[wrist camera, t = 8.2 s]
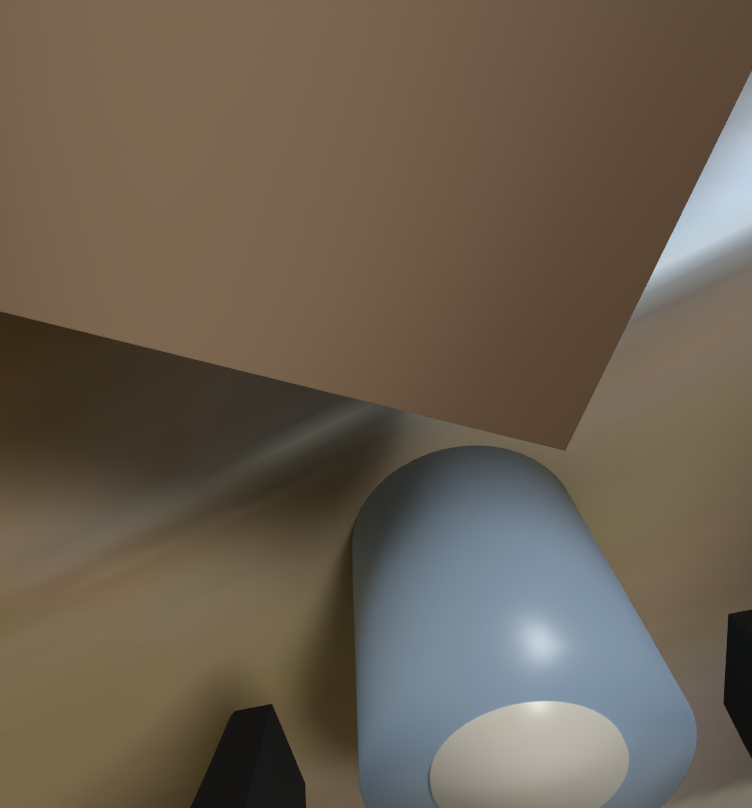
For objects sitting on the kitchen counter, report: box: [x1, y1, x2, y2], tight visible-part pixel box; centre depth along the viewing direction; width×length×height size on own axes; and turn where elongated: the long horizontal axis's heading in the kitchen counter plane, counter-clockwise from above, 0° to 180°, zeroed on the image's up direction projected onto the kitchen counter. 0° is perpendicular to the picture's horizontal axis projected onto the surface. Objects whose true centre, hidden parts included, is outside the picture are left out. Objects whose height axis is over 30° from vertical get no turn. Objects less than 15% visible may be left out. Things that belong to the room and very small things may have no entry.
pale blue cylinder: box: [352, 446, 697, 808], centre depth 11 cm, size 5×5×5 cm
